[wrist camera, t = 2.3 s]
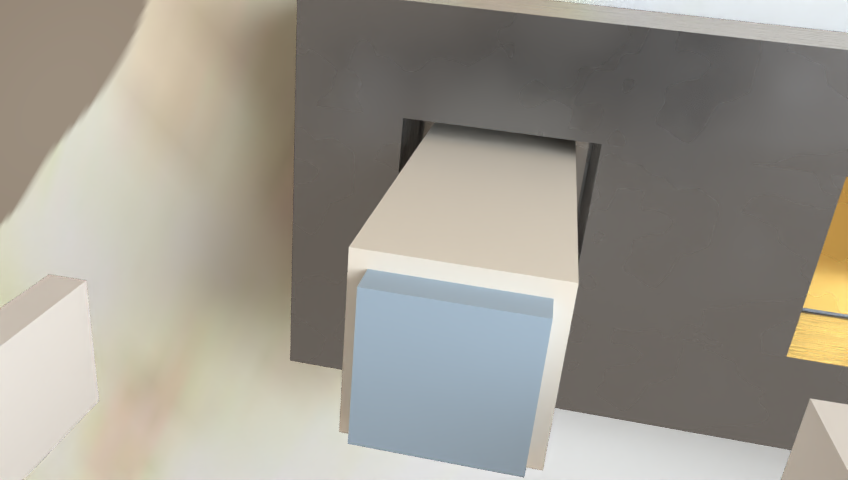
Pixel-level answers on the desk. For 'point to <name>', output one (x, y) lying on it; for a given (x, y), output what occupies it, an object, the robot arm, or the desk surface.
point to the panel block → (609, 189)
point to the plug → (464, 301)
